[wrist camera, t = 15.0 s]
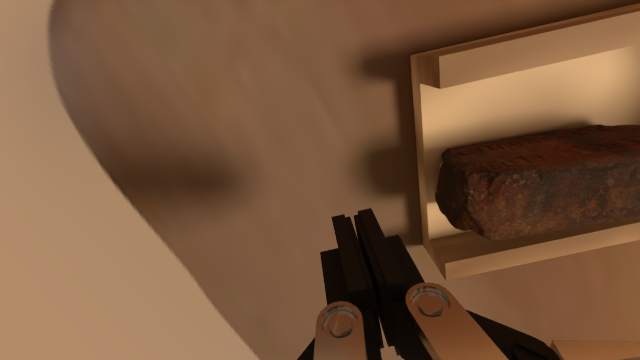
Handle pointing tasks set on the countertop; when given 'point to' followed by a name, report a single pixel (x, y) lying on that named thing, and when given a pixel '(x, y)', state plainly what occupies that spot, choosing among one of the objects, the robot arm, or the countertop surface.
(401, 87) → the countertop surface
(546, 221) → the brick
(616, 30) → the rail board
